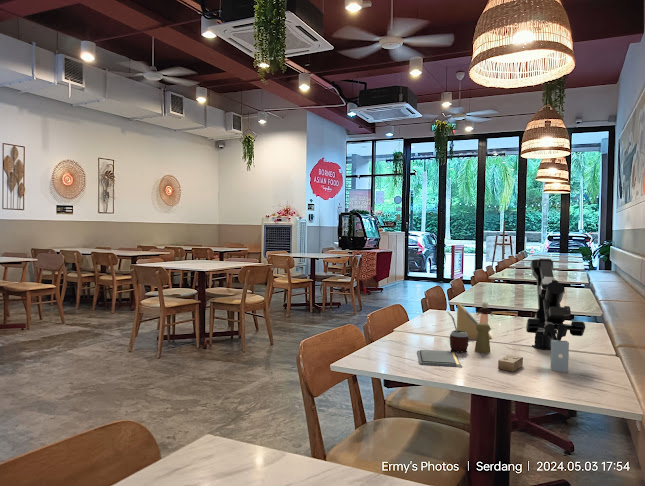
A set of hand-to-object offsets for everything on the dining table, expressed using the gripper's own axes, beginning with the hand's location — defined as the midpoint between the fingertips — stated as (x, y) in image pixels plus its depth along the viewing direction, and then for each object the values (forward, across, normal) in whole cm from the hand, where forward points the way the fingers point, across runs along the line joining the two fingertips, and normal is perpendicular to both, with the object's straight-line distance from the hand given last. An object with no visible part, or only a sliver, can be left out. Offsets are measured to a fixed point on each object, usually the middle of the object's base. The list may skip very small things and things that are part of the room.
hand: (557, 347), depth 165 cm
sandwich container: (-25, -27, +36) cm, 51 cm away
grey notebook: (+8, -40, +4) cm, 41 cm away
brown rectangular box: (+5, -14, +3) cm, 15 cm away
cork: (-6, -24, +16) cm, 30 cm away
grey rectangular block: (+8, 0, +3) cm, 8 cm away
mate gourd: (-3, -34, +13) cm, 36 cm away
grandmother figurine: (-44, -21, +54) cm, 73 cm away
